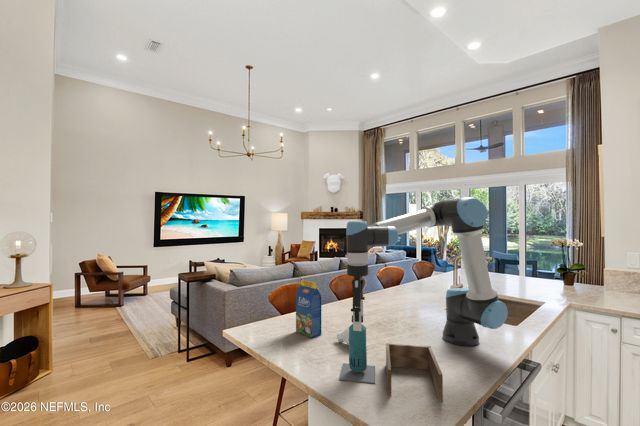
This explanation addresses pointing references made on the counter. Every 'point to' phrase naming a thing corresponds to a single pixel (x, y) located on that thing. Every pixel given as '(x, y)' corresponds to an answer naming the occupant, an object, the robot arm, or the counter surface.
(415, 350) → the wooden u-frame
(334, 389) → the counter surface
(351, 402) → the counter surface
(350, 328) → the beverage bottle
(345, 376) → the mat
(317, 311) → the blue food package
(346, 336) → the white crumpled lump
